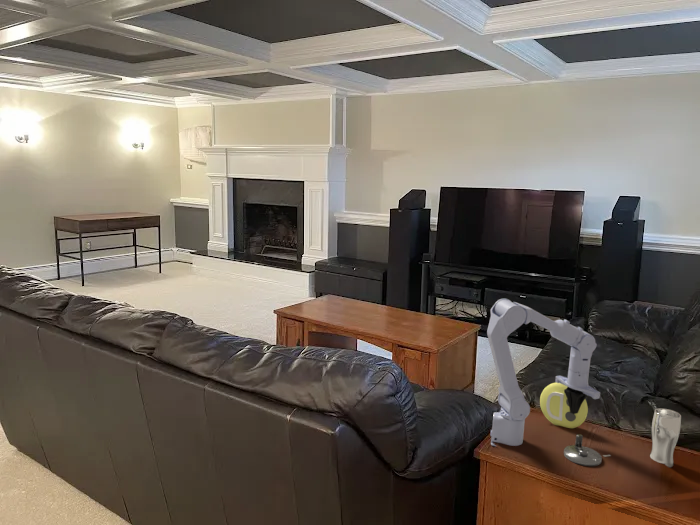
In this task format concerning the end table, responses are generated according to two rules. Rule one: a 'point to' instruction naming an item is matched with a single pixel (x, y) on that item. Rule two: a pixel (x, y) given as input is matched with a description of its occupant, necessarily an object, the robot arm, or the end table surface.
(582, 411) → the emoji
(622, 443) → the end table surface
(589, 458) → the cam dial
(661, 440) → the beer glass
